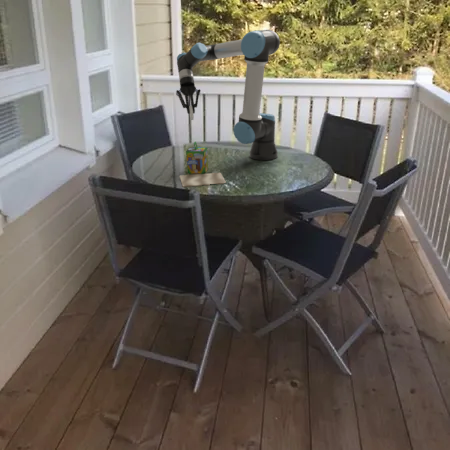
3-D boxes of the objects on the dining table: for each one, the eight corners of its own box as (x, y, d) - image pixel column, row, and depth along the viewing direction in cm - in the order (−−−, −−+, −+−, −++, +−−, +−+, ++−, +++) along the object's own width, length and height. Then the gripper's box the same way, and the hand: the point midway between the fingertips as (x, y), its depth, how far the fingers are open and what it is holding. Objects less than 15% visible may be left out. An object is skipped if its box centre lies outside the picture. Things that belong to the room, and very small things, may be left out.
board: (220, 173, 249) (220, 172, 248) (226, 183, 234) (226, 182, 234) (179, 176, 246) (179, 175, 245) (182, 187, 231) (182, 185, 231)
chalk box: (205, 174, 248) (204, 144, 242) (186, 174, 250) (185, 144, 244) (208, 169, 257) (207, 140, 251) (191, 168, 258) (189, 139, 252)
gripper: (198, 84, 273) (203, 121, 264) (174, 85, 270) (178, 123, 262) (199, 75, 266) (205, 113, 257) (174, 76, 263) (179, 114, 255)
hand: (192, 118), depth 260 cm, fingers closed
